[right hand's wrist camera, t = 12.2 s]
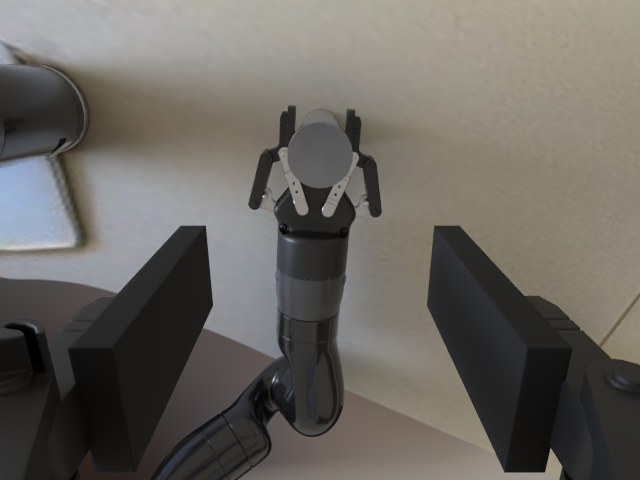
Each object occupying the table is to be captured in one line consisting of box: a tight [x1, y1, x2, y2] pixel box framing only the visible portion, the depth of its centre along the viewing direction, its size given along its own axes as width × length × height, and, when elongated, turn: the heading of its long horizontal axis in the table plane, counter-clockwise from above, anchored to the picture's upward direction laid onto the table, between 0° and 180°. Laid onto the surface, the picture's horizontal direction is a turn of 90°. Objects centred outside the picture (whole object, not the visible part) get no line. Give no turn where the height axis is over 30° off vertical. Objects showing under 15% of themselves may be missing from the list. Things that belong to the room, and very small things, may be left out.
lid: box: [287, 120, 353, 188], centre depth 34 cm, size 5×5×2 cm
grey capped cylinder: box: [301, 109, 339, 126], centre depth 42 cm, size 4×4×18 cm
